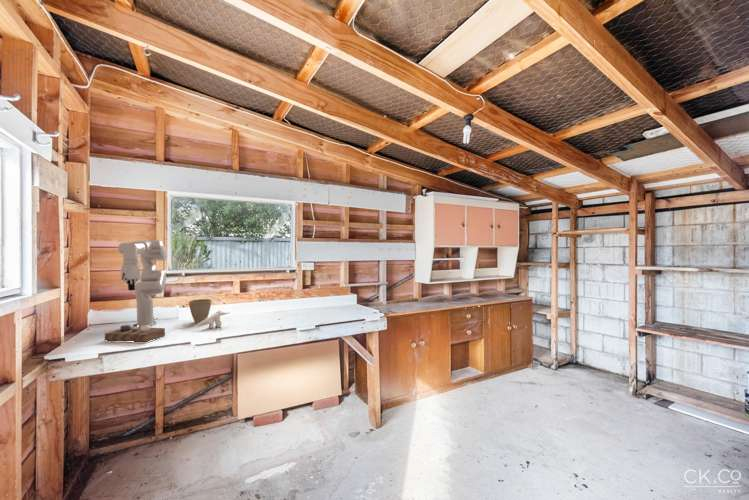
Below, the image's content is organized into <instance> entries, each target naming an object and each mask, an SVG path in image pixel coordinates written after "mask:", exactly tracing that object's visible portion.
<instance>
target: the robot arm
mask: <svg viewBox="0 0 749 500" xmlns="http://www.w3.org/2000/svg"><path fill="white" fill-rule="evenodd" d="M117 250H118V251H117V252H118V253H120V254H121V255H122V259H123V260H122V263H123V264H121V268H120V279H121V280H122V282H123V283H126V284H127V287H128V288H127V289H128V291H134V293H135V298H136V299H135V300H136V301H135V302H136V320H137V321H136V324H138V327H141V326H145V325H150V327H151V326H154V325H156V324H157V321H156V320H158V319H159V317H158V316H154V301H153V298H152V297H151V296H150V295H159V294H162V293H164V291H165V285H166V281H167V273H166V271H164V270H163V269H157V265H155V263H154V262H152V261H158V262H159V261H165V260H166V259H167V258H168V252H167V250H166V247H165V245H164V243H163V242H162V240H159V239H154V240H153V239H151V240H150V239H148V240H139V241H130V242H129V241H128V242H121V243H119V244H118V247H117ZM139 257H140V262H141V264H142V271H141V268H140V264H139ZM138 281H139V282H138Z"/></svg>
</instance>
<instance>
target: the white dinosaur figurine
mask: <svg viewBox="0 0 749 500" xmlns="http://www.w3.org/2000/svg"><path fill="white" fill-rule="evenodd" d="M230 313H231V312H230V311H229V312H225V311H222V310H220V309H219V310H217V311H216V312H215V313H213V314H211V315H210V316H208V317H207V318H206V319H205V320H203V321H202V322H200V323H196V324H194V326H193V328H194V327H200V326H203V325H208V328H209V329H213V328H214V325H215V327H217V328H221V327H222V321H221V316H224V315H228V314H230Z"/></svg>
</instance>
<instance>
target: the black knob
mask: <svg viewBox="0 0 749 500" xmlns="http://www.w3.org/2000/svg"><path fill="white" fill-rule="evenodd" d="M130 327H131V324H124V325H120V329H121V331H122V332H123V331H129V330H130Z"/></svg>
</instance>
